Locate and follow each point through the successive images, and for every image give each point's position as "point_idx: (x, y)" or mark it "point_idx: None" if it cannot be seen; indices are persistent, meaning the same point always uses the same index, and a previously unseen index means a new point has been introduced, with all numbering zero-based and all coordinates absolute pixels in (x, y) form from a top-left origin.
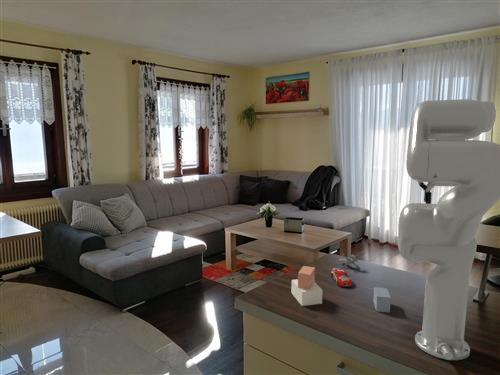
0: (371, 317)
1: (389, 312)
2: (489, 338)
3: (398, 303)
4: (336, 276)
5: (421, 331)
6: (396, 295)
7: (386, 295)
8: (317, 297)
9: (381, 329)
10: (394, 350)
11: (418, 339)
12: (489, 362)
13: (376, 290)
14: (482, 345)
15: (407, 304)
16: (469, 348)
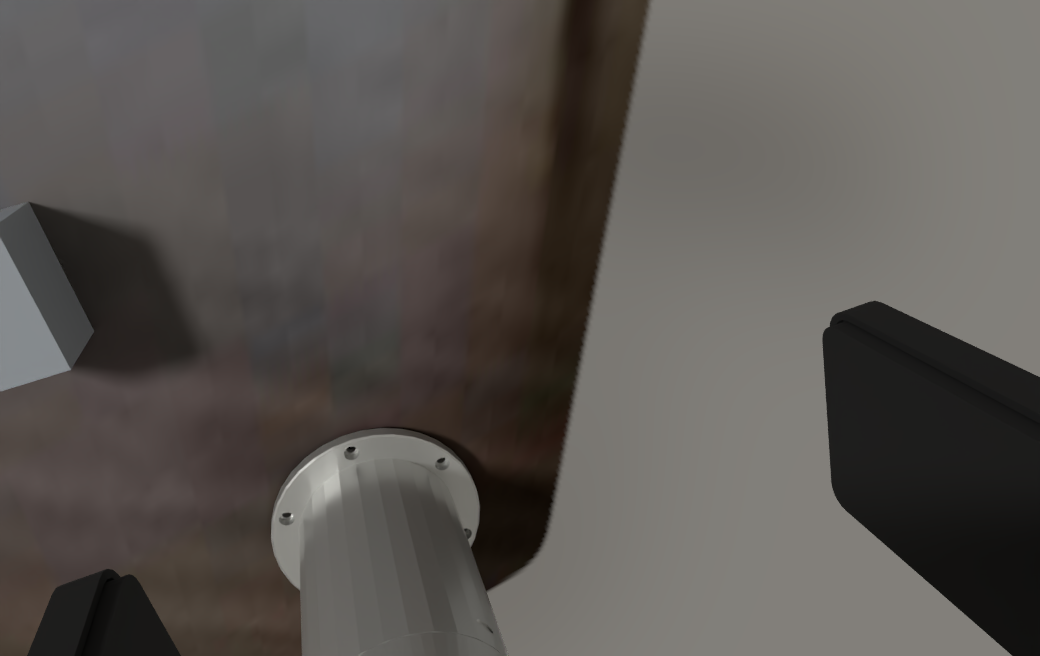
0: (14, 438)
1: (91, 331)
2: (562, 352)
3: (109, 178)
4: None
5: (292, 491)
6: (60, 42)
7: (33, 352)
8: None
9: (107, 523)
10: (206, 638)
11: (288, 560)
12: (533, 525)
13: None
14: (527, 424)
15: (168, 166)
16: (478, 515)
